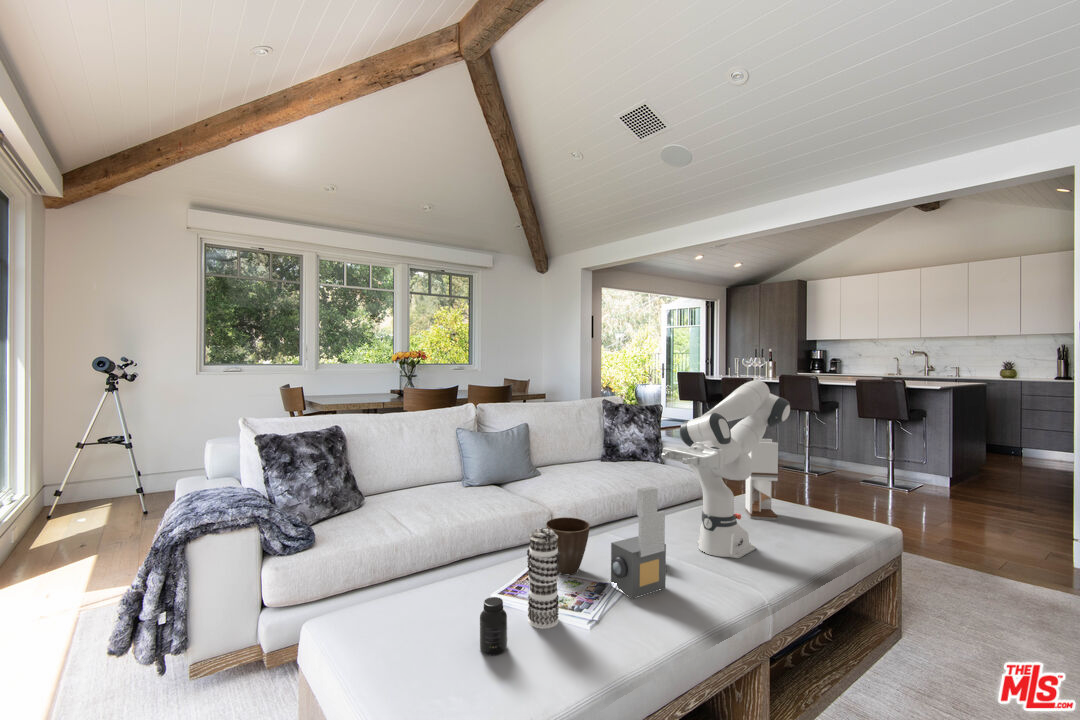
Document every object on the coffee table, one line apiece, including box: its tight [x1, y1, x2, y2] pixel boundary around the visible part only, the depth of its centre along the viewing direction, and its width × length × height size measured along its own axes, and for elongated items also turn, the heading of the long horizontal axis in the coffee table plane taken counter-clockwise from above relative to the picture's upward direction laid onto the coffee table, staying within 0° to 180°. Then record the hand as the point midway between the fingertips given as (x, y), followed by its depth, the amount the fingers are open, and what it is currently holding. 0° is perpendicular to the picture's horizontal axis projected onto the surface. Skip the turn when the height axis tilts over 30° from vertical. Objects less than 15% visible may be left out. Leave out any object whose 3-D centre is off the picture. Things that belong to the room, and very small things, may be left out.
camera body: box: [610, 535, 667, 599], centre depth 164 cm, size 16×10×14 cm, turn 122°
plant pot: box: [545, 516, 591, 576], centre depth 177 cm, size 15×15×16 cm
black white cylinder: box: [526, 527, 560, 630], centre depth 144 cm, size 9×9×25 cm
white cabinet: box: [744, 438, 779, 521], centre depth 240 cm, size 11×11×35 cm
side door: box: [636, 486, 666, 557], centre depth 160 cm, size 10×2×20 cm, turn 122°
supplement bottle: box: [479, 596, 508, 656], centre depth 130 cm, size 7×7×12 cm
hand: (673, 458), depth 170 cm, fingers open, 8 cm apart
